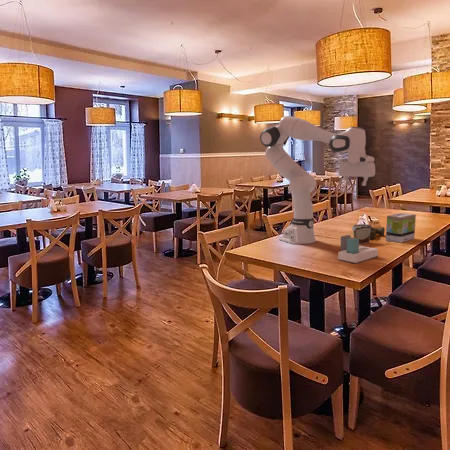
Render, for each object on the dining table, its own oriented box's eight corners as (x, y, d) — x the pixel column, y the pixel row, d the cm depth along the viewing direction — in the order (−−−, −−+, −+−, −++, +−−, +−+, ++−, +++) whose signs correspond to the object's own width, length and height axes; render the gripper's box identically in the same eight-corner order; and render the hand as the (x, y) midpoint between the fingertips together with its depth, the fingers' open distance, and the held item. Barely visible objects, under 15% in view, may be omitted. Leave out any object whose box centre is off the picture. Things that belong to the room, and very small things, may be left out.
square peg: (346, 259, 202) (346, 238, 200) (351, 257, 204) (351, 237, 202) (353, 260, 198) (353, 240, 197) (358, 259, 201) (358, 238, 199)
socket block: (338, 260, 202) (338, 252, 202) (360, 253, 213) (360, 245, 213) (355, 263, 195) (356, 255, 194) (377, 256, 205) (377, 248, 205)
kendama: (361, 239, 246) (370, 232, 263) (378, 241, 241) (386, 234, 258) (362, 230, 245) (370, 223, 261) (379, 231, 240) (386, 224, 256)
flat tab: (340, 253, 215) (340, 236, 213) (347, 251, 218) (347, 234, 216) (343, 254, 213) (344, 237, 212) (350, 252, 216) (350, 235, 215)
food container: (363, 240, 243) (363, 223, 241) (371, 242, 238) (371, 224, 236) (347, 242, 238) (347, 225, 236) (354, 244, 232) (355, 227, 230)
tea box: (402, 243, 231) (402, 217, 229) (385, 240, 239) (385, 215, 237) (415, 238, 241) (416, 213, 238) (398, 236, 248) (399, 212, 246)
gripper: (336, 159, 221) (335, 184, 224) (370, 158, 205) (369, 186, 208) (343, 158, 225) (343, 184, 228) (377, 158, 209) (376, 185, 212)
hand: (356, 185), depth 218 cm, fingers open, 8 cm apart
